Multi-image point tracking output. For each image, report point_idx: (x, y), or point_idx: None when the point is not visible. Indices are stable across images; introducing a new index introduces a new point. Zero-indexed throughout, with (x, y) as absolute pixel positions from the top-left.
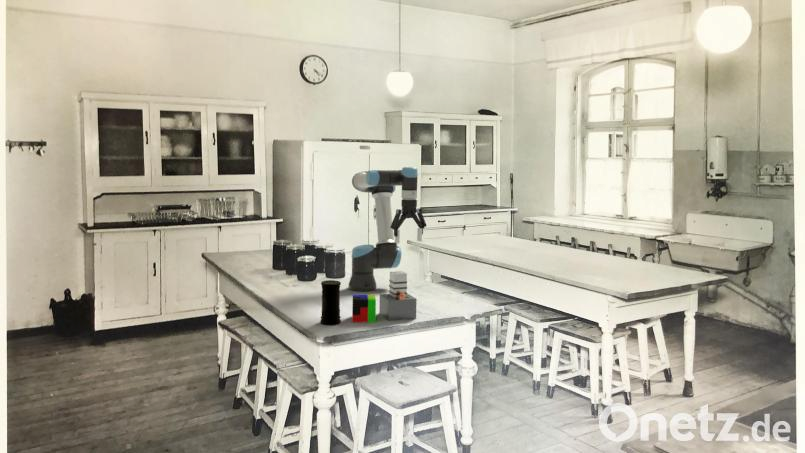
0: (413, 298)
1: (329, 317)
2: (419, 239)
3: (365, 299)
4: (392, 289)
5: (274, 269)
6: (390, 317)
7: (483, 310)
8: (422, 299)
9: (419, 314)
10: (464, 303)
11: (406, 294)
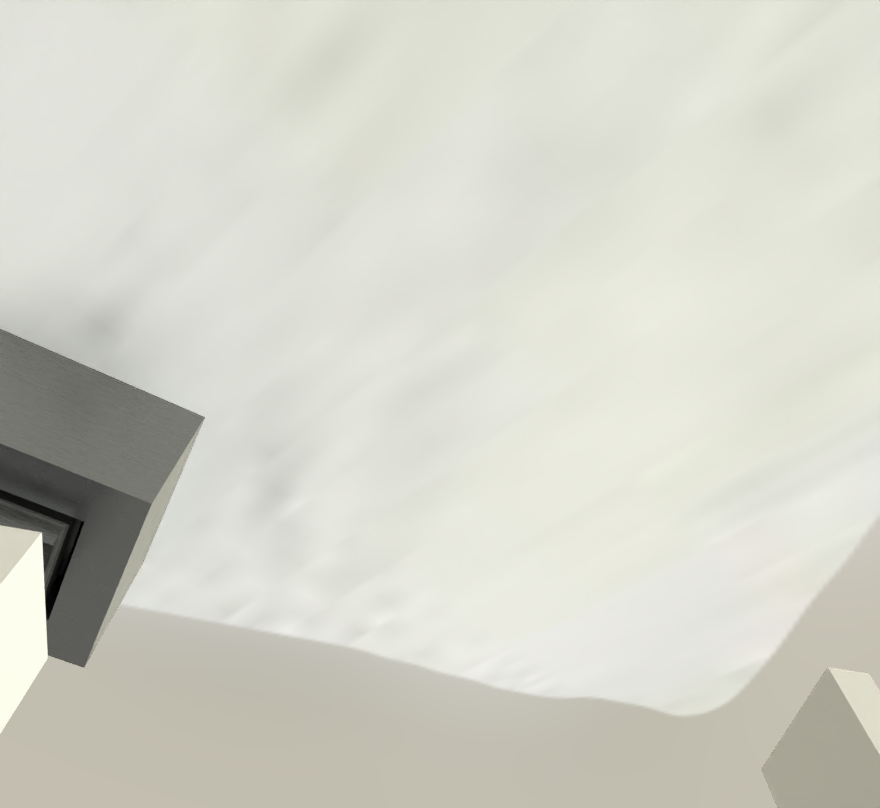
0: (70, 649)
1: None
2: (802, 788)
3: None
4: None
5: None
6: None
7: (619, 698)
8: (628, 251)
9: (232, 521)
10: (718, 545)
11: (108, 545)
